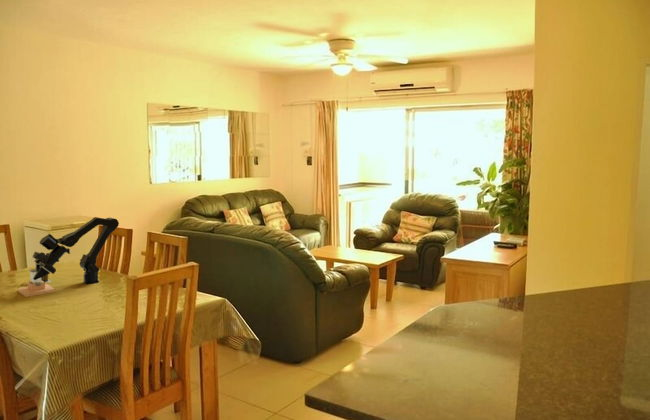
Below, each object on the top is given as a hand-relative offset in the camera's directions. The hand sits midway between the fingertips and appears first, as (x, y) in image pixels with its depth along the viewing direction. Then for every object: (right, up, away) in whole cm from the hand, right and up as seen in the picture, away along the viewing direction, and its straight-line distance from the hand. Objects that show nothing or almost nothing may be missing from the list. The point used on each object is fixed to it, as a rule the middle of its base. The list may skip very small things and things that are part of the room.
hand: (32, 278), depth 262 cm
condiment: (-7, -5, +22) cm, 23 cm away
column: (+1, -5, +2) cm, 6 cm away
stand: (+1, -7, +2) cm, 7 cm away
